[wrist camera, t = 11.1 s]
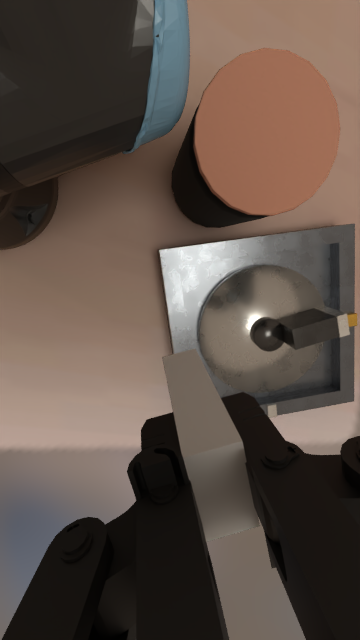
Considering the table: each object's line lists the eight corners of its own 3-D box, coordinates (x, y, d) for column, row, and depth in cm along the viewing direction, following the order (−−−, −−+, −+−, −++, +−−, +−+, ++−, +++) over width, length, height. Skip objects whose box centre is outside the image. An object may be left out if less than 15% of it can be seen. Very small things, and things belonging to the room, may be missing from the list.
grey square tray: (157, 249, 41) (159, 250, 36) (335, 225, 43) (357, 223, 38) (181, 416, 46) (185, 435, 42) (337, 388, 48) (356, 403, 44)
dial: (214, 403, 44) (226, 429, 38) (183, 285, 40) (191, 292, 34) (329, 368, 45) (360, 388, 39) (311, 249, 41) (342, 249, 34)
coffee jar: (266, 206, 41) (359, 177, 24) (192, 242, 41) (230, 240, 24) (235, 121, 38) (313, 17, 21) (155, 159, 38) (167, 88, 21)
